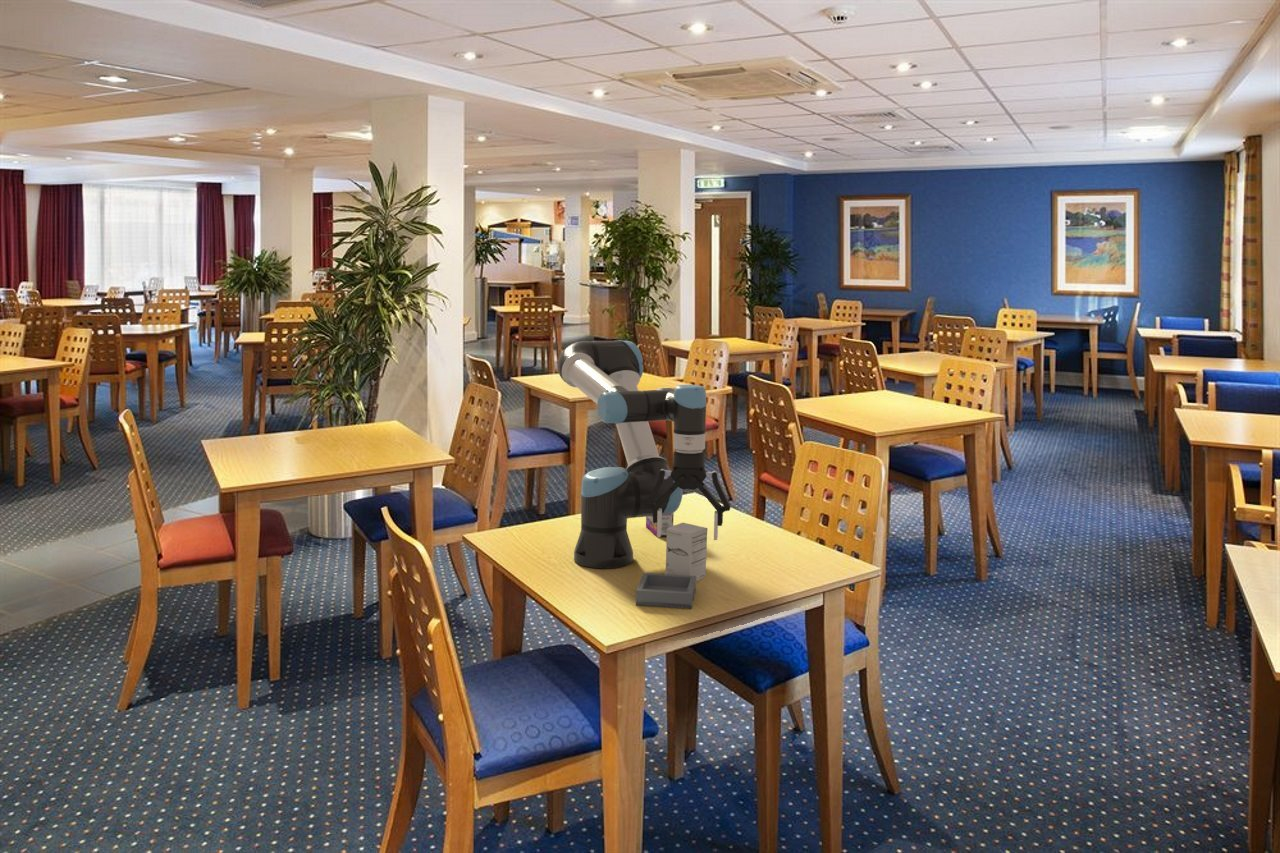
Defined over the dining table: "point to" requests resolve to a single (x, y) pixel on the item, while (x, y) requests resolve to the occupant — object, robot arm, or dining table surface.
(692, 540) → the supplement box
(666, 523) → the candy bar box
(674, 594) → the dock tray
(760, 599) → the dining table surface
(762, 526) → the dining table surface
